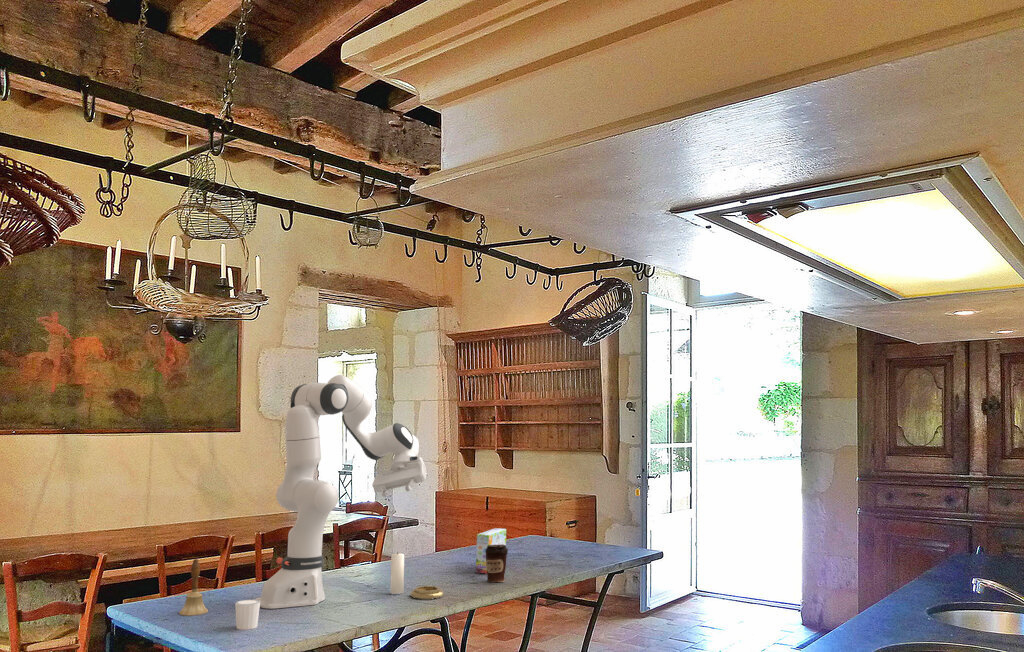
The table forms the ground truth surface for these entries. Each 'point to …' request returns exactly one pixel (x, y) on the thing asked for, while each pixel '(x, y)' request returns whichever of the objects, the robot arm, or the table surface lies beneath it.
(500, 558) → the coffee cup
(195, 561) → the hand bell
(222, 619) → the table surface
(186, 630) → the table surface
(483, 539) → the snack box
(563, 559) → the table surface
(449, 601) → the table surface
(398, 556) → the candle
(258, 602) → the white tapered cup
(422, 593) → the candle dish
